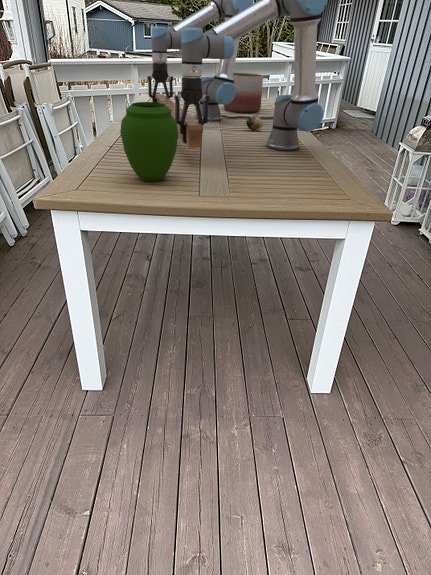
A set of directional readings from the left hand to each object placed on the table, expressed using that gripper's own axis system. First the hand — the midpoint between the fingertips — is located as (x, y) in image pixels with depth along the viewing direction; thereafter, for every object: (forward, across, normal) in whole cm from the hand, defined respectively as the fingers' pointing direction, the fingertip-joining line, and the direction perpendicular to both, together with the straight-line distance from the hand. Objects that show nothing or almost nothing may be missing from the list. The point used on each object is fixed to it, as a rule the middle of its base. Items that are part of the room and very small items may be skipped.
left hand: (161, 111), depth 219 cm
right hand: (0, -1, -70) cm, 70 cm away
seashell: (+8, +49, -13) cm, 52 cm away
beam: (+1, -1, -35) cm, 35 cm away
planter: (+8, +66, +51) cm, 83 cm away
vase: (+7, -21, -89) cm, 92 cm away
